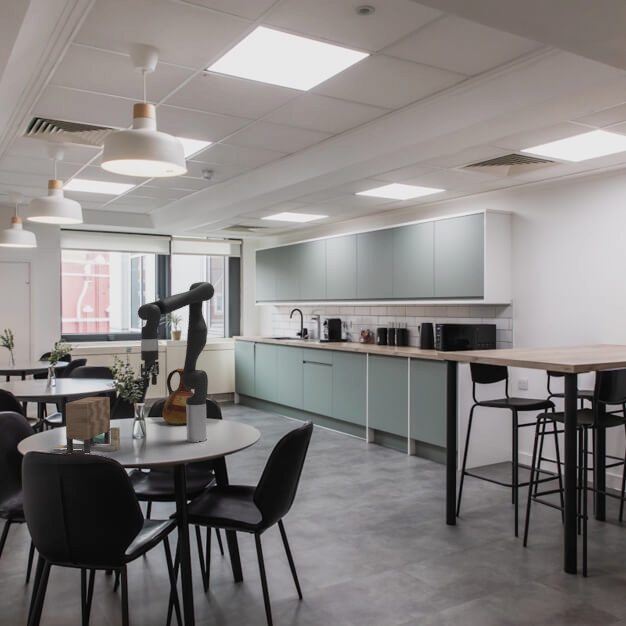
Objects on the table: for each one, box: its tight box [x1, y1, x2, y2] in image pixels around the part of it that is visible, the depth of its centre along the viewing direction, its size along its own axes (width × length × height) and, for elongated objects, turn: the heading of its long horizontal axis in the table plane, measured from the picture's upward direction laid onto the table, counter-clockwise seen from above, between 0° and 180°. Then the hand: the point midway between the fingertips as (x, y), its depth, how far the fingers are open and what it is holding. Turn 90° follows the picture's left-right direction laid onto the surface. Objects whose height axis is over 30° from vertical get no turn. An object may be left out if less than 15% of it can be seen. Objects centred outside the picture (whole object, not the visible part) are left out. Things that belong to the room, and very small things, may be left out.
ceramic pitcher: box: [161, 367, 194, 425], centre depth 340 cm, size 20×20×30 cm
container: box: [94, 433, 104, 444], centre depth 296 cm, size 6×6×25 cm
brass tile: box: [53, 444, 66, 448], centre depth 280 cm, size 5×5×2 cm
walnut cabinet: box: [65, 396, 111, 454], centre depth 277 cm, size 20×10×22 cm, turn 171°
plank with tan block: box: [64, 426, 121, 452], centre depth 277 cm, size 5×25×10 cm, turn 81°
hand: (150, 385), depth 276 cm, fingers open, 8 cm apart
